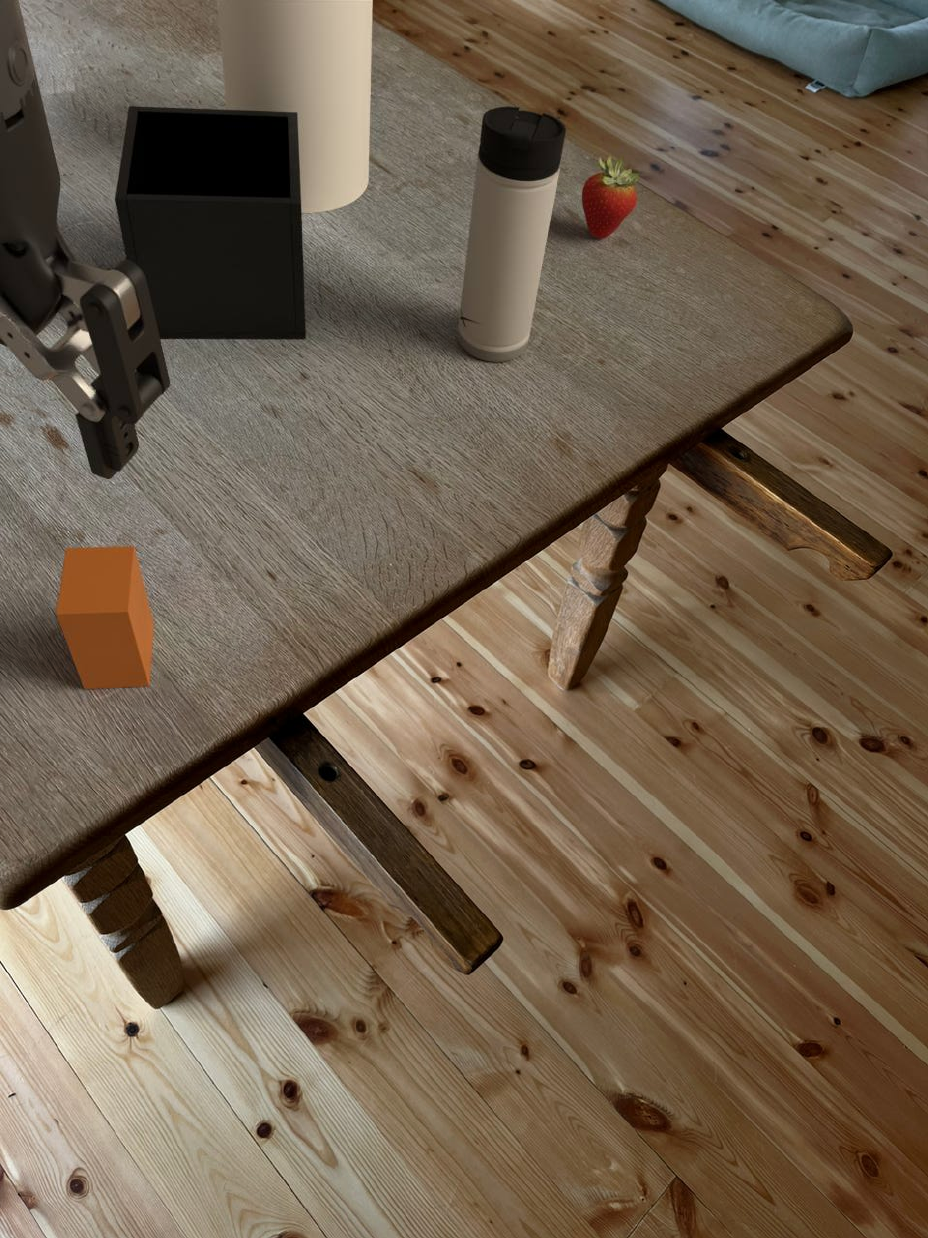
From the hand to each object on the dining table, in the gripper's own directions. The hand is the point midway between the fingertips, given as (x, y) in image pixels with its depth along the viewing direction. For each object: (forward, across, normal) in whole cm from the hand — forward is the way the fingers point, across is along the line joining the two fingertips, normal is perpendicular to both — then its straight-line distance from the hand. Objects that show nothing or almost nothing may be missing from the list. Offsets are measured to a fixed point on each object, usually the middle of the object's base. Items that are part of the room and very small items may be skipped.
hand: (32, 434), depth 46 cm
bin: (+23, -15, +40) cm, 48 cm away
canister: (+23, -18, +60) cm, 67 cm away
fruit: (+23, +12, +65) cm, 70 cm away
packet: (+23, -2, +3) cm, 23 cm away
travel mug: (+23, +8, +45) cm, 51 cm away
